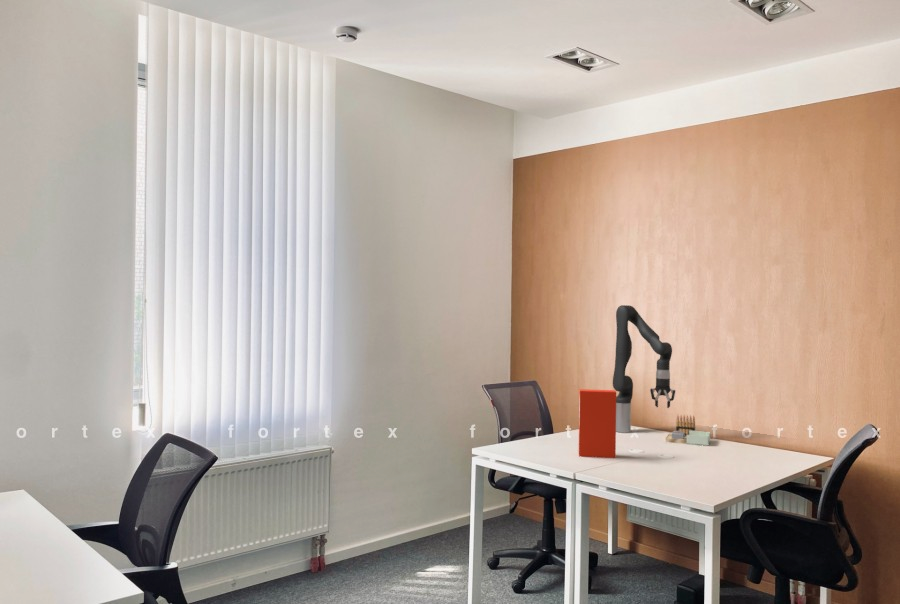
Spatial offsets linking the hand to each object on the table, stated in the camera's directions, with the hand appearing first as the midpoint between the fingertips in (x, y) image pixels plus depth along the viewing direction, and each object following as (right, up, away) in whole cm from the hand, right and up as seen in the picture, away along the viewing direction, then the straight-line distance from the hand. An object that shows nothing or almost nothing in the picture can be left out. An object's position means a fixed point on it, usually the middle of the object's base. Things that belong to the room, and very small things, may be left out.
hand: (662, 407), depth 376 cm
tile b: (+5, -15, -10) cm, 19 cm away
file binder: (-49, -16, -50) cm, 72 cm away
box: (+16, -17, -12) cm, 26 cm away
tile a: (+8, -15, -4) cm, 18 cm away
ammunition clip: (+17, -18, +10) cm, 27 cm away
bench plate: (+6, -17, -7) cm, 20 cm away
